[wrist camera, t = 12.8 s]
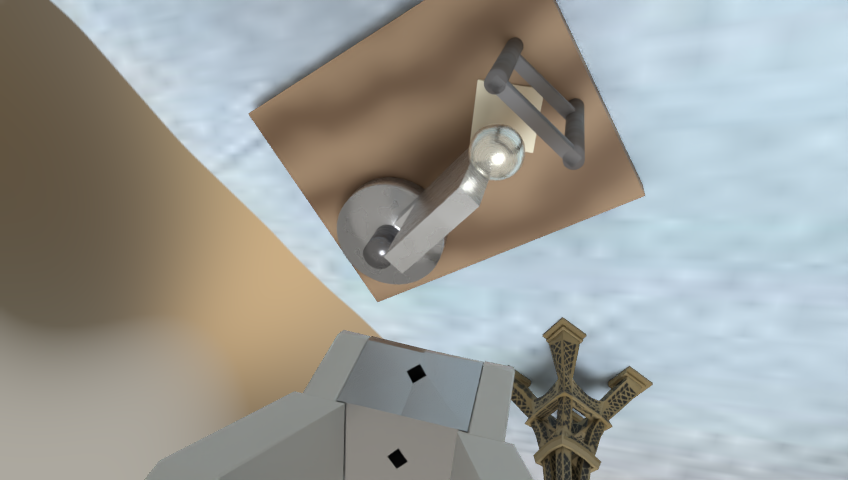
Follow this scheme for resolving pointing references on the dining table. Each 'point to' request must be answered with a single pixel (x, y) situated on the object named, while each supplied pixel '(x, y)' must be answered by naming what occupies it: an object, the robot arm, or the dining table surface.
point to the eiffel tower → (570, 433)
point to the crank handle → (423, 209)
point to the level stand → (457, 123)
